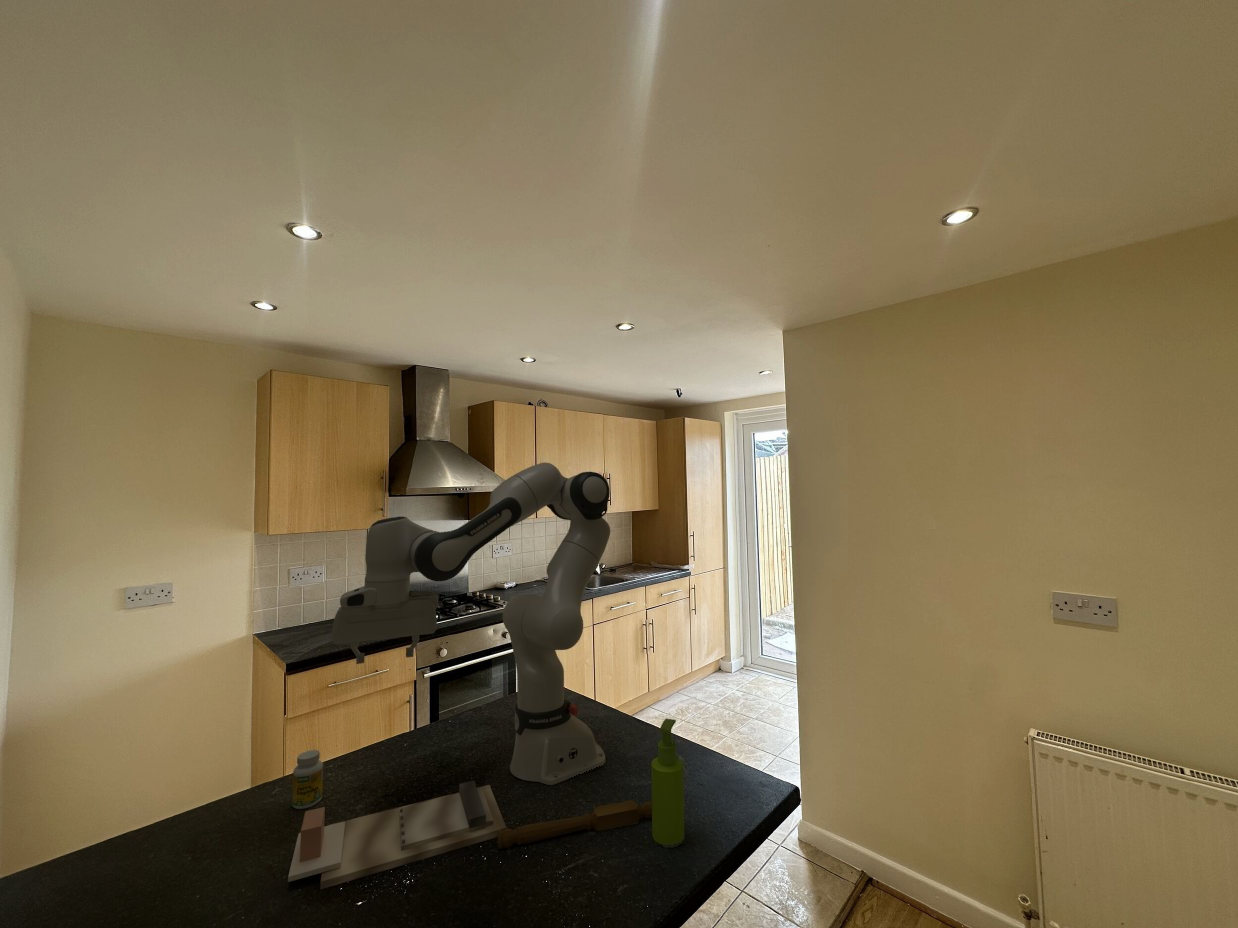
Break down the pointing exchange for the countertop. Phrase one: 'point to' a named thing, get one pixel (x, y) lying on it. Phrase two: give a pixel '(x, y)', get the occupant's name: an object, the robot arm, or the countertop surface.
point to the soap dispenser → (667, 790)
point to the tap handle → (577, 823)
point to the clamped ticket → (416, 832)
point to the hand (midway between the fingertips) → (385, 659)
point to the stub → (317, 846)
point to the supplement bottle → (307, 780)
